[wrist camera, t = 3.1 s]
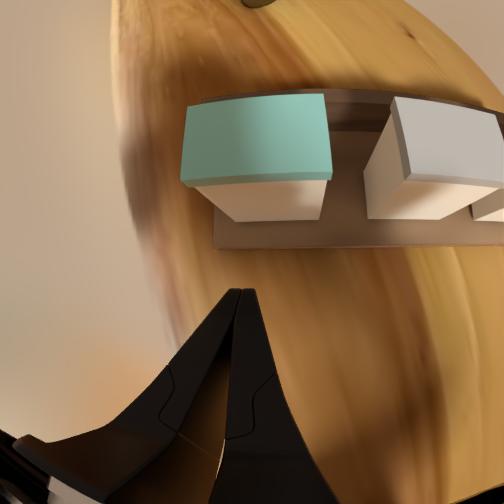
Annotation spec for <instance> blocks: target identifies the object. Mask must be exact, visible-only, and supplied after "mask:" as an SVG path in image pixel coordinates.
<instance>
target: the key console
mask: <svg viewBox="0 0 504 504" xmlns="http://www.w3.org/2000/svg"><path fill="white" fill-rule="evenodd" d="M291 94H323V95H324V102H325V109H326V116H327V124H328V132H329V140H330V150H331V160H332V171H333V172H332V177H331V180H327V183H326V188H325V193H324V198H323V203H322V208H321V213H320V217H319V220H287V221H253V222H235V221H234V220H233V219H231V218H230V217H229V216H228V215H227V214H225V213H224V212H223V211H222V210H221V209H219V208H218V207H217V206H216V205H215V204H214V224H213V248H216V249H219V250H246V249H306V248H373V247H449V246H504V222H498V221H474V219H473V211H472V204H469V205H467V206H465V207H464V208H462V209H460V210H458V211H456V212H454V213H452V214H450V215H448V216H446V217H444V218H442V219H440V220H423V219H368V217H367V204H366V193H365V183H364V174H363V172H364V170H365V168H366V166H367V163H368V161H369V159H370V157H371V155H372V153H373V151H374V149H375V147H376V145H377V143H378V141H379V138H380V136H381V134H382V132H383V130H384V128H385V125H386V123H387V121H388V119H389V117H390V114H391V110H390V106H391V103H392V101H393V99H394V97H403V98H412V99H419V100H426V101H433V102H439V103H445V104H450V105H455V106H460V107H465V108H470V109H474V110H478V111H482V112H486V113H490V114H494V115H495V116H496V119H497V122H498V125H499V128H500V131H501V134H502V137H503V140H504V113H501V112H497V111H494V110H490V109H486V108H482V107H479V106H474V105H470V104H466V103H461V102H457V101H452V100H446V99H441V98H435V97H429V96H422V95H415V94H408V93H399V92H389V91H377V90H361V89H290V90H274V91H261V92H251V93H242V94H234V95H226V96H219V97H212V98H206V99H201V104H205V103H212V102H218V101H225V100H233V99H242V98H251V97H261V96H274V95H291Z"/></svg>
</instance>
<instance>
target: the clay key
mask: <svg viewBox="0 0 504 504" xmlns="http://www.w3.org/2000/svg"><path fill="white" fill-rule="evenodd" d="M471 204H472V211H473V219H474V221H498V222H504V189H501V188H499V189H498V190H496V191H494V192H492V193H490V194H488V195H486V196H485V197H483V198H481V199H479V200H477V201H475V202H473V203H471Z"/></svg>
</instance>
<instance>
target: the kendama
mask: <svg viewBox="0 0 504 504" xmlns="http://www.w3.org/2000/svg"><path fill="white" fill-rule="evenodd" d="M242 1H243V3H244V4H246V5H247V6H249V7H250V8H260V7H263V6H266V5H269V4H271V3H273V2H274V1H275V0H242Z"/></svg>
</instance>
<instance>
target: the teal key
mask: <svg viewBox="0 0 504 504" xmlns="http://www.w3.org/2000/svg"><path fill="white" fill-rule="evenodd" d="M332 172H333V171H332V160H331V150H330V140H329V132H328V124H327V116H326V109H325V102H324V95H323V94H291V95H274V96H261V97H251V98H242V99H233V100H225V101H218V102H212V103H205V104H199V105H194V106H188V107H187V114H186V123H185V131H184V140H183V150H182V161H181V172H180V181H181V182H182V183H183V184H185V185H186V186H187V187H188V188H189V187H194V188H195V189H197V190H198V191H199V192H200V193H201V194H203V195H204V196H205V197H206V198H207V199H209V200H210V201H211V202H212V203H213V204H215V205H216V206H217V207H218V208H219V209H221V210H222V211H223V212H224V213H225V214H227V215H228V216H229V217H230V218H231V219H233V220H234V221H235V222H253V221H287V220H319V217H320V213H321V208H322V203H323V198H324V193H325V188H326V183H327V180H331V177H332Z"/></svg>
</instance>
